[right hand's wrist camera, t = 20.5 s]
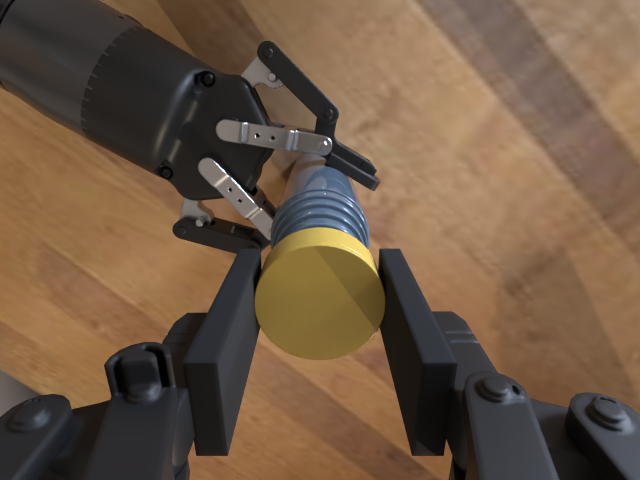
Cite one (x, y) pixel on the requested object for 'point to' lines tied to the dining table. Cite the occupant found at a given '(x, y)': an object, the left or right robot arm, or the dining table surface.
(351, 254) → the cap
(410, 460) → the dining table surface
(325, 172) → the bottle
